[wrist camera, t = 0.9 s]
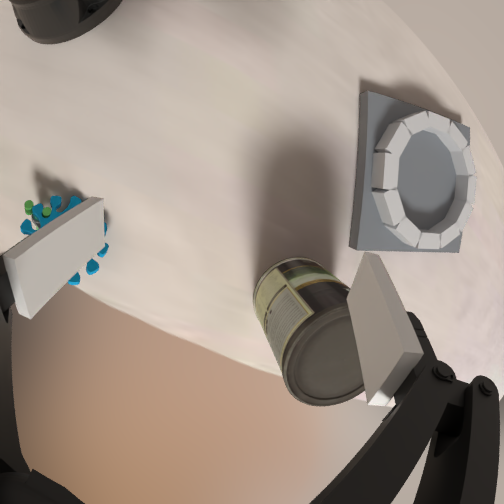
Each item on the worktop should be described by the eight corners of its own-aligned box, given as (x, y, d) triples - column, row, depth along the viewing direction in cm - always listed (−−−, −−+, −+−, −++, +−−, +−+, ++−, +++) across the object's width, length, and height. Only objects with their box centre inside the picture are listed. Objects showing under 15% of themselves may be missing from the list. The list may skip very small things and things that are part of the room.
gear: (128, 236, 30) (63, 304, 23) (119, 258, 34) (64, 317, 28) (63, 170, 28) (-6, 224, 22) (60, 199, 33) (3, 249, 26)
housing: (359, 93, 32) (379, 86, 28) (460, 128, 35) (481, 127, 31) (348, 246, 36) (367, 256, 32) (450, 249, 40) (470, 257, 36)
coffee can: (310, 239, 35) (374, 279, 22) (344, 304, 39) (405, 361, 25) (235, 287, 35) (260, 355, 22) (277, 348, 38) (314, 423, 25)
